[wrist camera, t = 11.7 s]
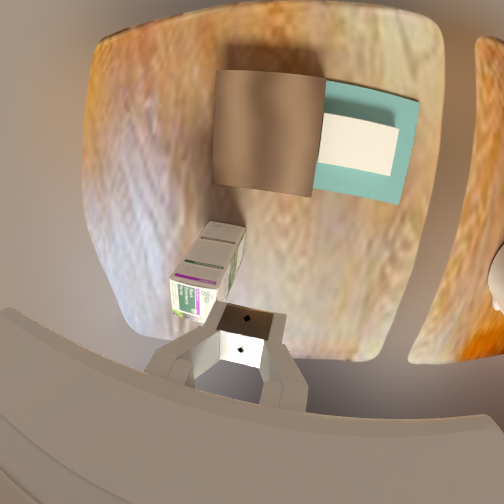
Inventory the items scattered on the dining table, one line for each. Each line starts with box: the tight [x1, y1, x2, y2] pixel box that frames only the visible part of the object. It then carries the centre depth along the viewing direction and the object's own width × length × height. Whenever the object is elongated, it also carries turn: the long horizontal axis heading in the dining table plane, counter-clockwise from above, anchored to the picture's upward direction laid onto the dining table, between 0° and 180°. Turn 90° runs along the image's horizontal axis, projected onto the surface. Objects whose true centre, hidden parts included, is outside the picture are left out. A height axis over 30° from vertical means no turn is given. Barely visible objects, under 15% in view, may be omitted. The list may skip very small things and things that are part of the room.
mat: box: [313, 81, 420, 205], centre depth 31 cm, size 12×14×1 cm
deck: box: [212, 70, 327, 197], centre depth 31 cm, size 12×14×4 cm
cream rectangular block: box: [318, 112, 399, 176], centre depth 30 cm, size 9×6×2 cm, turn 87°
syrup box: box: [169, 221, 246, 323], centre depth 37 cm, size 6×6×14 cm
